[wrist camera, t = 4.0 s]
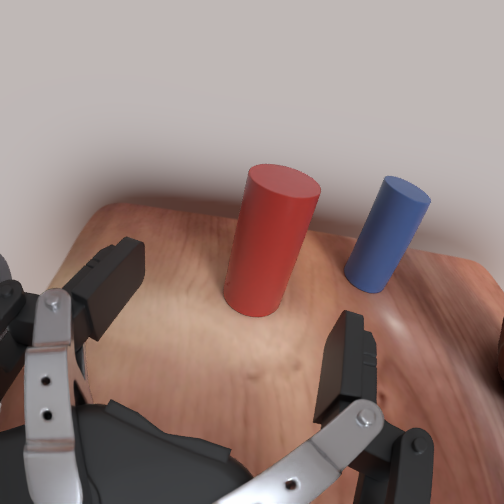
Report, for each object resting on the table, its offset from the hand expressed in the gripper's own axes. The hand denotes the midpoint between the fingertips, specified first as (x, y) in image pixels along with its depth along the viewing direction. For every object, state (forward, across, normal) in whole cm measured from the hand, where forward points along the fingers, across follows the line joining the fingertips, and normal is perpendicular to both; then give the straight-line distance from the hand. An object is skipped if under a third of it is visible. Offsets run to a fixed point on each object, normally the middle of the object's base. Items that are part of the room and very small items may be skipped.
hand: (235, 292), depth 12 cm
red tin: (+11, 0, +11) cm, 15 cm away
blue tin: (+19, -11, +11) cm, 24 cm away
